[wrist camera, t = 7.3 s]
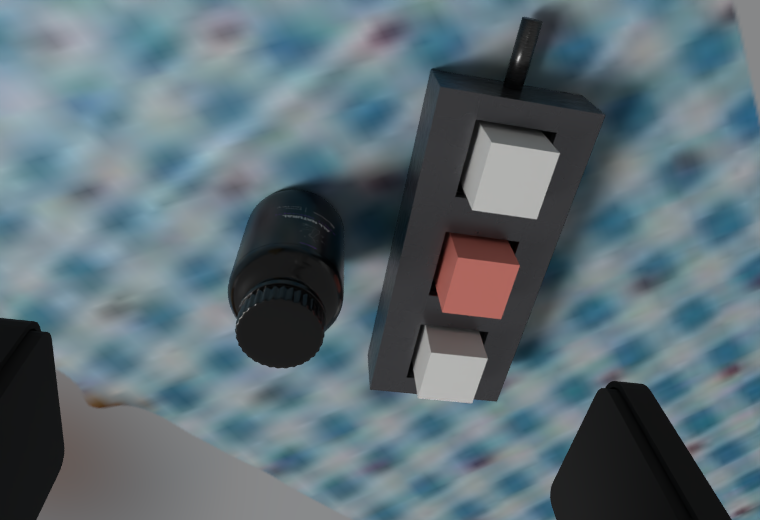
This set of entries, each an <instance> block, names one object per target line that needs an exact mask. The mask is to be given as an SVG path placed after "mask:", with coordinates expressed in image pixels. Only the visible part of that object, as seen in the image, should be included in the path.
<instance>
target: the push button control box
mask: <svg viewBox="0 0 760 520" xmlns="http://www.w3.org/2000/svg"><path fill="white" fill-rule="evenodd" d="M542 23H543V22H542V21H540V20H537V19H533V18H528V17H522V20H521V24H520V27H519V31H518V34H517V38H516V41H515V45H514V48H513V52H512V55H511V59H510V63H509V66H508V70H507V73H506V77H505V80H504V82H502V81H496V80H490V79H485V78H479V77H473V76H468V75H462V74H456V73H450V72H445V71H439V70H433V69H431V71H430V76H429V80H428V85H427V89H426V94H425V98H424V103H423V107H422V112H421V116H420V121H419V125H418V130H417V134H416V139H415V144H414V148H413V153H412V157H411V162H410V166H409V171H408V175H407V180H406V184H405V189H404V193H403V198H402V202H401V207H400V211H399V216H398V220H397V225H396V229H395V234H394V238H393V243H392V247H391V252H390V256H389V261H388V266H387V270H386V275H385V279H384V284H383V288H382V293H381V297H380V302H379V306H378V311H377V315H376V320H375V324H374V329H373V333H372V338H371V342H370V347H369V351H368V367H369V382H370V389H371V390H381V391H392V392H402V393H413V394H417V390H416V383H415V377H414V371H413V364H412V355H413V351H414V348H415V344H416V340H417V337H418V333H419V329H420V325H430V326H439V327H448V328H457V329H466V330H475V331H479V333H480V336H481V339H482V342H483V345H484V348H485V351H486V354H487V357H488V359H487V362H486V365H485V368H484V371H483V374H482V377H481V379H480V382H479V385H478V388H477V391H476V394H475V396H474V399H476V400H487V401H497V400H498V397H499V394H500V392H501V389H502V387H503V384H504V381H505V379H506V376H507V373H508V371H509V368H510V365H511V363H512V360H513V357H514V355H515V352H516V350H517V347H518V344H519V342H520V339H521V336H522V334H523V331H524V328H525V326H526V323H527V321H528V318H529V315H530V313H531V310H532V307H533V305H534V302H535V299H536V297H537V294H538V291H539V289H540V286H541V284H542V281H543V278H544V276H545V273H546V270H547V268H548V265H549V262H550V260H551V257H552V255H553V252H554V249H555V247H556V244H557V241H558V239H559V236H560V233H561V231H562V228H563V226H564V223H565V220H566V218H567V215H568V212H569V210H570V207H571V204H572V202H573V199H574V196H575V194H576V191H577V189H578V186H579V183H580V181H581V178H582V175H583V173H584V170H585V167H586V165H587V162H588V160H589V157H590V154H591V152H592V149H593V146H594V144H595V141H596V138H597V136H598V133H599V131H600V128H601V125H602V123H603V120H604V117H605V114H604V113H602V112H601V111H600V110H599V109H598V108H596V107H595V106H594V105H593V104H592V103H590V102H589V101H588V100H587V99H586V98H584V97H583V96H582V95H576V94H571V93H565V92H559V91H553V90H548V89H542V88H536V87H531V86H525V85H524V82H525V79H526V76H527V72H528V69H529V66H530V62H531V59H532V56H533V52H534V49H535V46H536V42H537V39H538V36H539V33H540V29H541V26H542ZM476 120H482V121H488V122H495V123H501V124H507V125H513V126H519V127H525V128H531V129H537V130H541V132H542V133H543V134H544V135H545V136H546V137H547V139H548V140H549V141H550V142H551V143H552V144H553V146H554V147H555V148H556V149H557V150H558V152H559V153H560V155H559V158H558V160H557V163H556V166H555V169H554V172H553V175H552V177H551V180H550V183H549V186H548V189H547V192H546V195H545V197H544V200H543V203H542V206H541V209H540V212H539V214H538V217H537V219H531V218H524V217H516V216H509V215H502V214H495V213H488V212H481V211H474V210H472V209H471V206H470V204H469V202H468V199H467V197H466V195H465V192H464V190H463V187H462V185H461V183H460V177H461V173H462V170H463V166H464V162H465V158H466V155H467V151H468V147H469V144H470V140H471V136H472V133H473V129H474V125H475V121H476ZM446 232H451V233H458V234H465V235H473V236H480V237H488V238H495V239H502V240H508V242H509V244H510V246H511V248H512V250H513V252H514V254H515V256H516V258H517V260H518V262H519V264H520V267H519V270H518V273H517V275H516V278H515V281H514V284H513V287H512V290H511V292H510V295H509V298H508V301H507V304H506V307H505V310H504V312H503V315H502V318H501V319H494V318H486V317H477V316H468V315H460V314H451V313H442V310H441V306H440V302H439V298H438V294H437V289H436V285H435V281H434V274H435V270H436V266H437V262H438V259H439V255H440V251H441V248H442V244H443V240H444V236H445V233H446Z"/></svg>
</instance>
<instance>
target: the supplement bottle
mask: <svg viewBox="0 0 760 520" xmlns="http://www.w3.org/2000/svg"><path fill="white" fill-rule="evenodd" d="M343 294H344V228H343V224H342V221H341V218H340V216H339V214H338V213H337V211H336V210H335V209H334V208H333V206H332V205H331V204H330V203H329V202H327V201H326V200H325V199H323V198H322V197H320V196H318V195H316V194H314V193H311V192H308V191H303V190H284V191H279V192H276V193H274V194H271V195H270V196H268V197H266V198H265V199H263V200H262V201H261V202H260V203H259V204H258V205H257V206H256V207H255V208H254V210H253V211H252V213H251V215H250V217H249V220H248V222H247V225H246V228H245V231H244V235H243V238H242V241H241V244H240V247H239V251H238V254H237V257H236V260H235V263H234V266H233V270H232V273H231V276H230V280H229V285H228V299H229V304H230V307H231V309H232V312H233V314H234V315H235V317H236V319H237V321H236V328H235V332H236V334H237V335H236V339H237V340H238V344H239V346H240V347H241V348H242V351H243V352H244V353H246V354H247V356H248V357H250V358H252V359H253V360H254V361H255V362H259V363H260V364H262V365H267V366H268V367H275V368H289V367H295V366H297V365H301V364H303V363H304V362H306V361H309V360H310V358H312V357H314V356H315V354H316V352H318V351H319V349H320V346H321V345H322V343H323V338H324V332H325V331H326V330H327V329H328V328H329V327H330V326H331V325H332V324H333V323H334V321H335V320H336V319H337V317H338V315H339V313H340V311H341V307H342V303H343Z"/></svg>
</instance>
